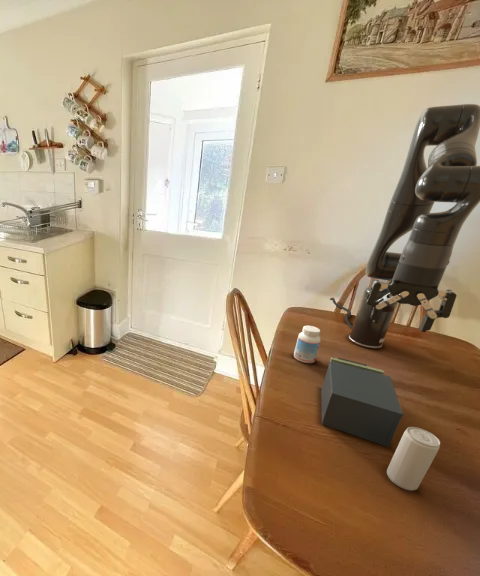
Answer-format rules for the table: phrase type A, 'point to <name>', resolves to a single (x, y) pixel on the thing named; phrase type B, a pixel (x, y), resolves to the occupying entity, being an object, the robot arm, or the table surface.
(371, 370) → the drawer
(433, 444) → the beverage can
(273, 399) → the table surface
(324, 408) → the cabinet
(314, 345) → the pill bottle
